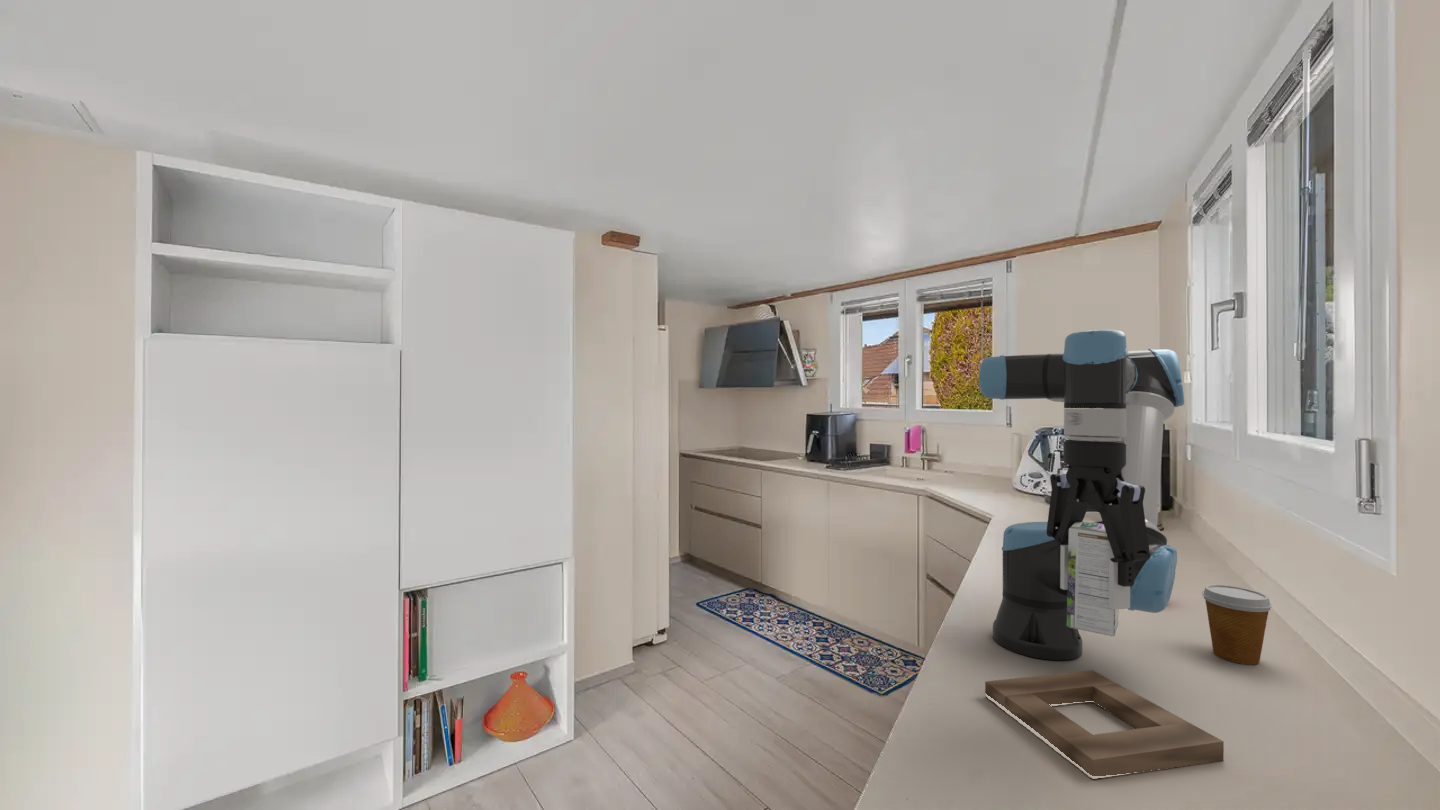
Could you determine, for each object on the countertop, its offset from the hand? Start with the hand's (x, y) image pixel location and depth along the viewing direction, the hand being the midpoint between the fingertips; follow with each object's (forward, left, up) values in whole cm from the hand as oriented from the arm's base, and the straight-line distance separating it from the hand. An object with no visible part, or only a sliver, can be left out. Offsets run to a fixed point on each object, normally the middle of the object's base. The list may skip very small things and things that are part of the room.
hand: (1093, 597), depth 81 cm
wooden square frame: (0, 0, -18) cm, 18 cm away
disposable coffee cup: (-14, +45, -19) cm, 51 cm away
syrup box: (0, 0, -4) cm, 4 cm away
